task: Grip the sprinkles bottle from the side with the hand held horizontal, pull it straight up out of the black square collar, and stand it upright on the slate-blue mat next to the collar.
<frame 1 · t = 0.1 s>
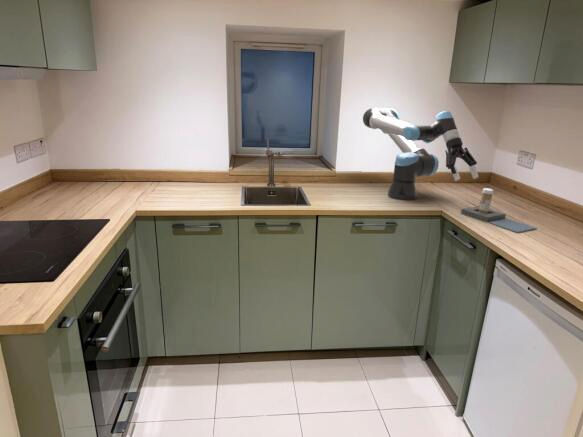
hand: (467, 179, 203), 15 cm above the worktop, tool tilted 35°, fingers open, 13 cm apart
slate mat: (511, 226, 184), on the worktop
sprinkles bottle: (482, 216, 196), resting in collar block
collar block: (482, 216, 196), on the worktop
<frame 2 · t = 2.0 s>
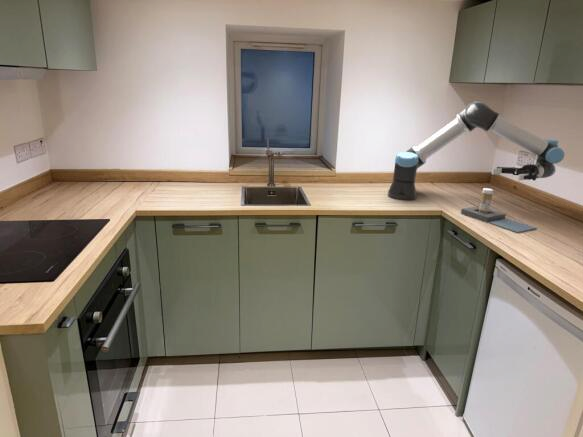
hand: (505, 174, 195), 20 cm above the worktop, tool horizontal, fingers open, 13 cm apart
nothing on the worktop moved.
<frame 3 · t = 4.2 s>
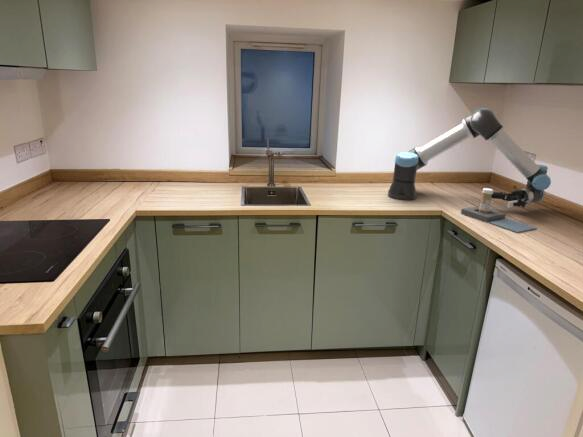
hand: (495, 200, 196), 7 cm above the worktop, tool horizontal, fingers open, 13 cm apart
nothing on the worktop moved.
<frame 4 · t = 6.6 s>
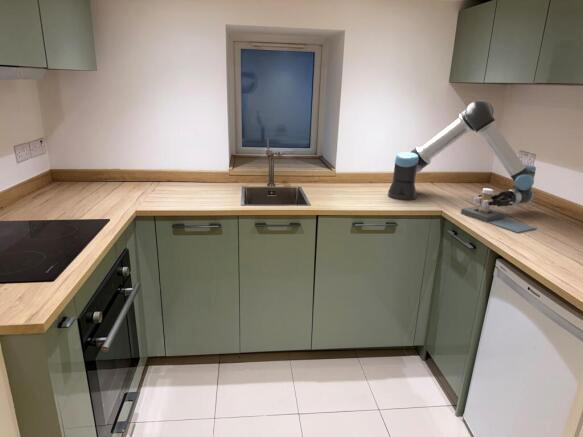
hand: (478, 202, 191), 8 cm above the worktop, tool horizontal, fingers closed on sprinkles bottle, 4 cm apart
sprinkles bottle: (482, 216, 196), resting in collar block, touching gripper
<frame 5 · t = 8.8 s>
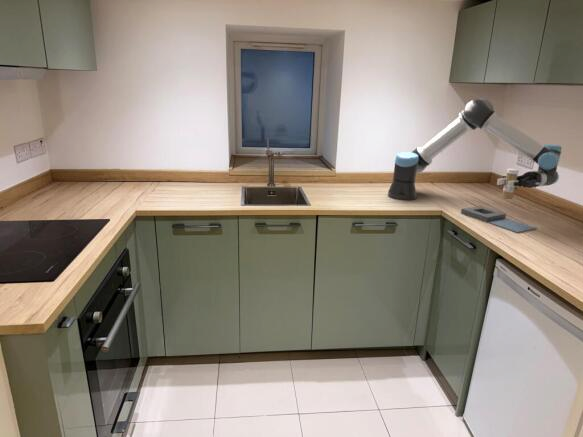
hand: (503, 183, 180), 19 cm above the worktop, tool horizontal, fingers closed on sprinkles bottle, 4 cm apart
sprinkles bottle: (506, 198, 185), point 11 cm above the worktop, touching gripper
when the fingers open (9 cm above the worktop, at t = 11.1 s): sprinkles bottle drops 1 cm, resting on slate mat.
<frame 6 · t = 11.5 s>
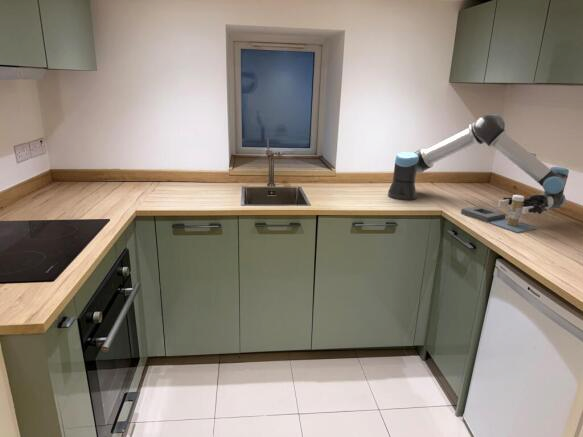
hand: (510, 207, 179), 9 cm above the worktop, tool horizontal, fingers open, 10 cm apart
sprinkles bottle: (511, 225, 184), resting on slate mat
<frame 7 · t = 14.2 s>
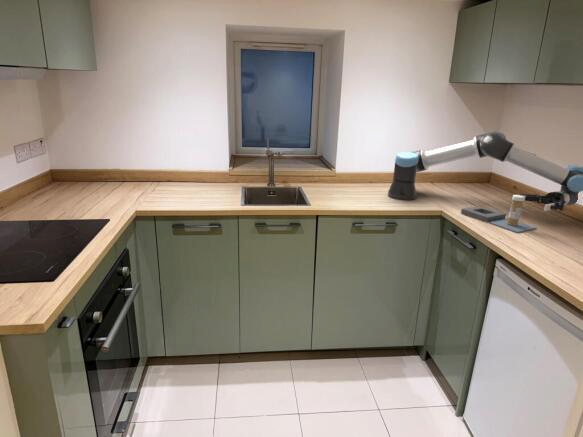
hand: (530, 203, 185), 10 cm above the worktop, tool horizontal, fingers open, 13 cm apart
nothing on the worktop moved.
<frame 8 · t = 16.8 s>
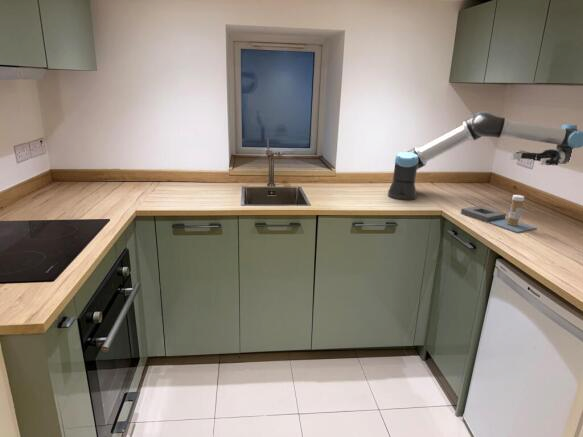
hand: (526, 159, 189), 28 cm above the worktop, tool horizontal, fingers open, 13 cm apart
nothing on the worktop moved.
at the end: sprinkles bottle inside the target area on the slate mat (0.1 cm from its centre), point 0.4 cm above the slate mat's base; sprinkles bottle tilted 0°; the gripper is holding nothing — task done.
